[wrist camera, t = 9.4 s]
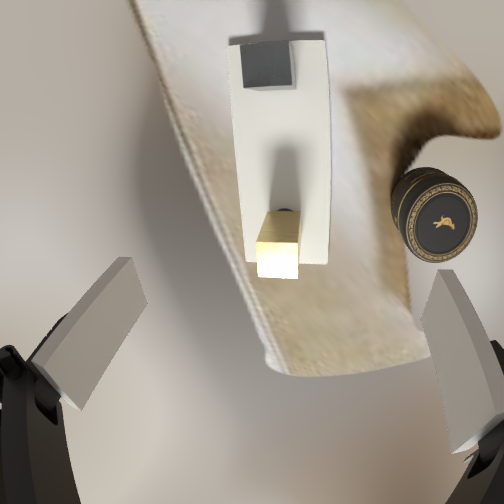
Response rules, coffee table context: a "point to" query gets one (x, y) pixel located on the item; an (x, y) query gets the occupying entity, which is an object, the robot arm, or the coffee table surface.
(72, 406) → the robot arm
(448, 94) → the coffee table surface
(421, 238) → the jar
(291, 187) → the board
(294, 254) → the block
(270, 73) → the fixed leg
